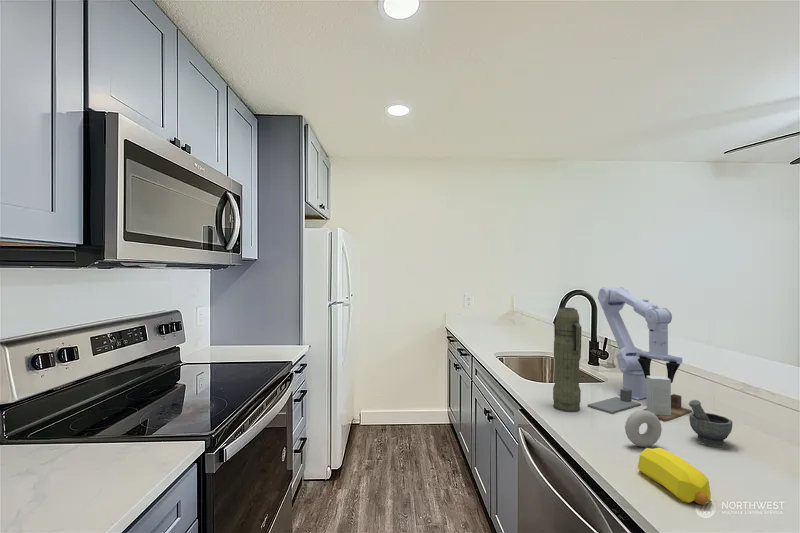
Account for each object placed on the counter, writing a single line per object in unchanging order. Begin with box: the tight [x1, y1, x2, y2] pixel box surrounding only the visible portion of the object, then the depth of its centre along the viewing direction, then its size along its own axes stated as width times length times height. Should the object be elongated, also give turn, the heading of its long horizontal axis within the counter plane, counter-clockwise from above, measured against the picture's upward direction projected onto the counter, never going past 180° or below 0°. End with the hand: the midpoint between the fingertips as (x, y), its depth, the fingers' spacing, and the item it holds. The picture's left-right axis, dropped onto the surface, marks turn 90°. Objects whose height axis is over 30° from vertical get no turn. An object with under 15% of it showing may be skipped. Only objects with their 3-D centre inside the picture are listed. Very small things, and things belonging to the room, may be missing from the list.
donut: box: [624, 409, 663, 448], centre depth 114 cm, size 10×4×10 cm, turn 96°
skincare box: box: [646, 375, 672, 416], centre depth 139 cm, size 6×4×12 cm
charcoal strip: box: [587, 388, 642, 415], centre depth 149 cm, size 18×9×5 cm, turn 122°
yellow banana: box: [637, 447, 712, 505], centre depth 93 cm, size 18×7×8 cm
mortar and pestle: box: [688, 399, 733, 448], centre depth 117 cm, size 11×9×12 cm
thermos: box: [552, 307, 582, 413], centre depth 146 cm, size 9×12×35 cm
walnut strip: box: [642, 393, 693, 422], centre depth 142 cm, size 18×9×5 cm, turn 122°
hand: (658, 380), depth 148 cm, fingers open, 7 cm apart
